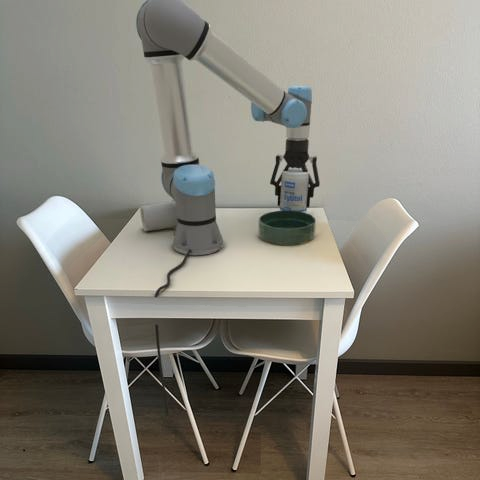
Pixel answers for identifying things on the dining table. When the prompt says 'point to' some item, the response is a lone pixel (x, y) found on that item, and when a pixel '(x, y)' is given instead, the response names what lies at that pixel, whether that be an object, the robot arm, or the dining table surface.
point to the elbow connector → (159, 216)
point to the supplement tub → (294, 190)
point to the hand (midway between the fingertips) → (293, 205)
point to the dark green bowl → (286, 227)
